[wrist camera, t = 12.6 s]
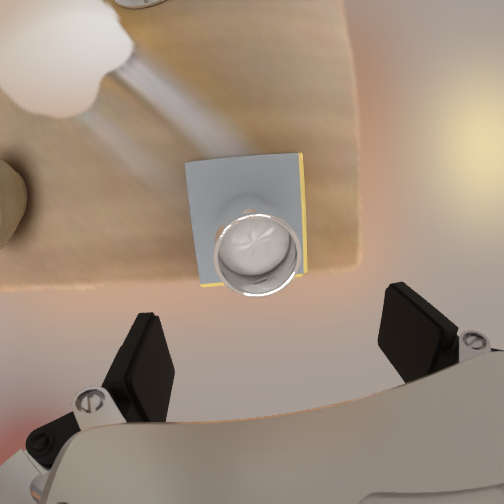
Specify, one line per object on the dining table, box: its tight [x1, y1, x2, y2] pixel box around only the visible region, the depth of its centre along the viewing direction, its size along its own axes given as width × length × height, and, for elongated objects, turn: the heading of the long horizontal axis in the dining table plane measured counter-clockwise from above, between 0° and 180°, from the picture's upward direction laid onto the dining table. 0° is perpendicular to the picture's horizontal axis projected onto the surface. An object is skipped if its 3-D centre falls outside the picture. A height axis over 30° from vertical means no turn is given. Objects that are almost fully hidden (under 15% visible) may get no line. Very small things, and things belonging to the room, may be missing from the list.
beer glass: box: [213, 195, 301, 297], centre depth 28 cm, size 7×7×15 cm
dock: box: [185, 153, 307, 287], centre depth 36 cm, size 17×15×3 cm
